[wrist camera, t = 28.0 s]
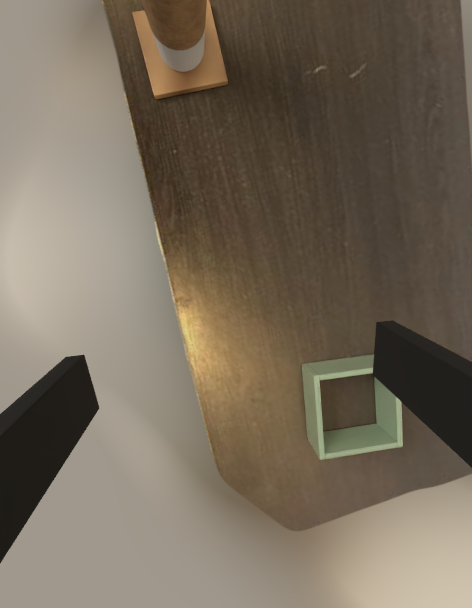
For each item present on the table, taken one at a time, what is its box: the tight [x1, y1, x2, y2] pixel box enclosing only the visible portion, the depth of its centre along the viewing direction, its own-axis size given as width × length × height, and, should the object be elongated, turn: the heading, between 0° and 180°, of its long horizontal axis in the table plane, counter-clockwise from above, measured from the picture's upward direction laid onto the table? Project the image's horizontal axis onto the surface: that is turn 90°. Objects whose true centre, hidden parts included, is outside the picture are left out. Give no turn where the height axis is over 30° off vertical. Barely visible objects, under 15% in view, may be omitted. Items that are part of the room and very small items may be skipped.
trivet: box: [133, 0, 228, 99], centre depth 34 cm, size 10×10×1 cm
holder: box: [302, 354, 403, 460], centre depth 39 cm, size 13×13×5 cm
